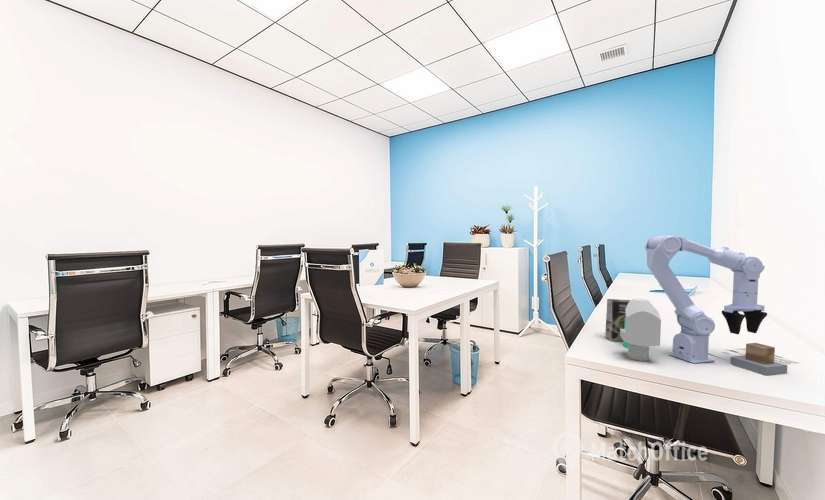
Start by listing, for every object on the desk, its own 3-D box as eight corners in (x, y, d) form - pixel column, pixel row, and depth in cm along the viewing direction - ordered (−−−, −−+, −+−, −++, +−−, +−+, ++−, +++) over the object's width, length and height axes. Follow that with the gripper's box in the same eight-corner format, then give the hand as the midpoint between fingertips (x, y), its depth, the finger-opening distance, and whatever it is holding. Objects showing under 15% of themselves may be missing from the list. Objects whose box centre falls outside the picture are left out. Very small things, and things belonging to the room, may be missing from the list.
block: (763, 364, 98) (764, 348, 98) (745, 359, 103) (746, 343, 103) (774, 363, 99) (774, 347, 99) (755, 358, 104) (756, 342, 104)
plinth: (766, 375, 96) (766, 367, 96) (730, 364, 105) (730, 356, 105) (787, 373, 98) (787, 365, 98) (750, 362, 107) (750, 354, 107)
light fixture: (650, 355, 112) (652, 298, 111) (659, 365, 103) (661, 303, 102) (619, 351, 115) (621, 296, 115) (625, 360, 107) (627, 301, 106)
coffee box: (611, 341, 127) (613, 301, 126) (604, 336, 133) (606, 298, 133) (637, 343, 125) (638, 302, 125) (628, 338, 132) (630, 299, 131)
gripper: (743, 295, 101) (741, 337, 101) (777, 293, 104) (775, 335, 104) (717, 291, 107) (715, 331, 108) (750, 290, 110) (748, 329, 111)
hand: (743, 332), depth 106 cm, fingers open, 7 cm apart
